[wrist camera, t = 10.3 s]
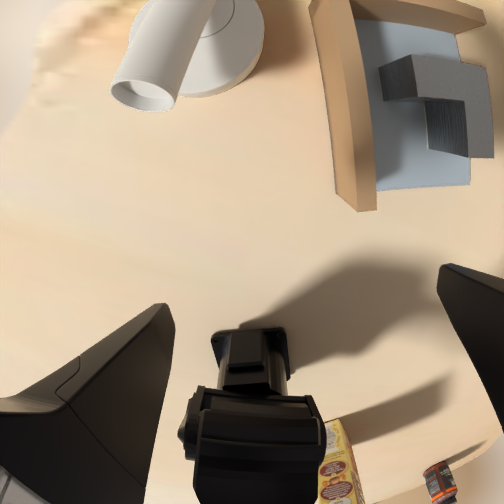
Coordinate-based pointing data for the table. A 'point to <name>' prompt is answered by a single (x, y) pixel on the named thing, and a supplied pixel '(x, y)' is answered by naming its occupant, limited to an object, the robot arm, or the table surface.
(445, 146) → the bracket
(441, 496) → the supplement bottle
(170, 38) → the wall hook
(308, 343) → the table surface
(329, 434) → the candy box
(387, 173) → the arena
